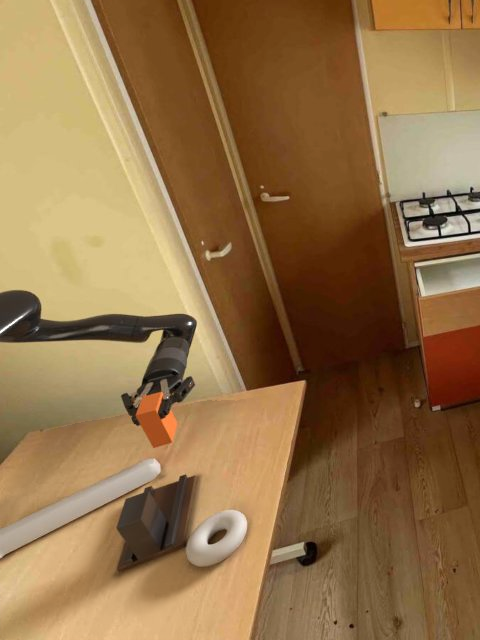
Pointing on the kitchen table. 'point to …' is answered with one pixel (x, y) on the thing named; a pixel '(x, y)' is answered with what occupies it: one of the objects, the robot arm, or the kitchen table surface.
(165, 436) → the orange rectangular block
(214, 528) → the donut
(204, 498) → the kitchen table surface
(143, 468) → the tube
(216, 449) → the kitchen table surface
